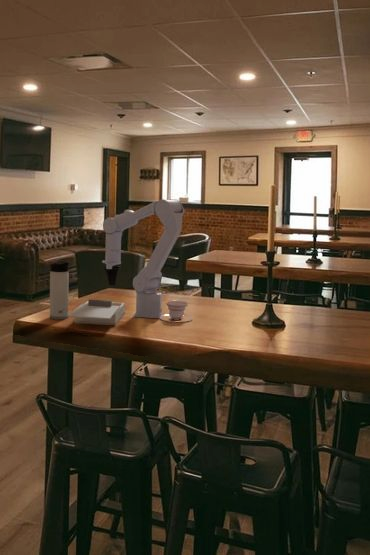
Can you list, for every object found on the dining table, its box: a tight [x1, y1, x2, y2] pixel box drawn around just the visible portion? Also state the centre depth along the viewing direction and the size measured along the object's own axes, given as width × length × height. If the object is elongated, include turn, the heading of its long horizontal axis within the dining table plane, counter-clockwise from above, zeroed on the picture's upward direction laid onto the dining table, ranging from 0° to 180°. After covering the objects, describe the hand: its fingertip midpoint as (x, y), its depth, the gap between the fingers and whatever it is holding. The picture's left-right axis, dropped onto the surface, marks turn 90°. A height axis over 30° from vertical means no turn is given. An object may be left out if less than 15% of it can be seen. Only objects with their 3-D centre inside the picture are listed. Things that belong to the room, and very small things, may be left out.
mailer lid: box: [67, 298, 120, 320], centre depth 179 cm, size 14×18×2 cm
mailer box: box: [74, 300, 126, 326], centre depth 189 cm, size 14×18×4 cm
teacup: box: [158, 300, 193, 323], centre depth 193 cm, size 12×12×6 cm
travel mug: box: [49, 261, 70, 321], centre depth 185 cm, size 6×7×20 cm
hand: (112, 285), depth 202 cm, fingers closed
